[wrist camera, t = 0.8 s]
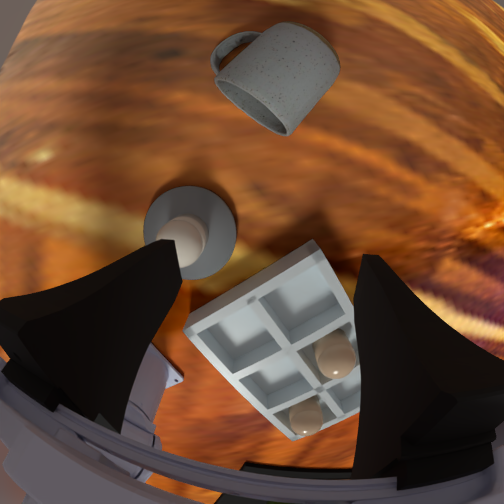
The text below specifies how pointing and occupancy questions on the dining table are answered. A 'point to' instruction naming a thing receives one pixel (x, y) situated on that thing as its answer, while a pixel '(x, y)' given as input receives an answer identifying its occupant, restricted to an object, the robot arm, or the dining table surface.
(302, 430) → the brown egg
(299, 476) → the sushi set
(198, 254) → the cream egg
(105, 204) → the dining table surface
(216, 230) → the grey round disc
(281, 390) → the egg carton
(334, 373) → the brown egg
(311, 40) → the ceramic mug
